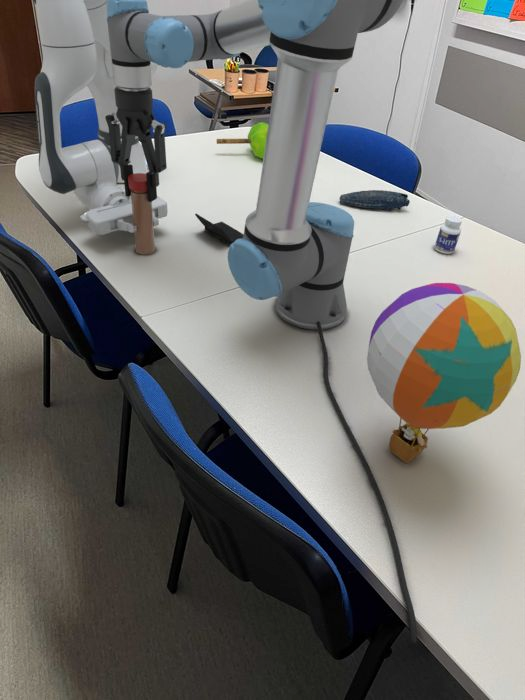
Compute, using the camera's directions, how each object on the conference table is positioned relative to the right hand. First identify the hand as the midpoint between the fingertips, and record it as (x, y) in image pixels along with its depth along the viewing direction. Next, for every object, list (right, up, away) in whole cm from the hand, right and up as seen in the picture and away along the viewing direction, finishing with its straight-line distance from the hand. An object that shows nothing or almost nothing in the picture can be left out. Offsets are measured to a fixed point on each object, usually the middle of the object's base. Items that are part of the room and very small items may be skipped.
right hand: (141, 197), depth 120 cm
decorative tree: (+26, +35, +69) cm, 82 cm away
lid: (0, +3, -3) cm, 4 cm away
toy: (+51, -52, -37) cm, 81 cm away
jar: (-1, -11, +9) cm, 14 cm away
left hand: (0, -6, +4) cm, 7 cm away
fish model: (+62, +9, +41) cm, 75 cm away
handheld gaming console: (+17, -6, +17) cm, 25 cm away
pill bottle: (+77, -8, +21) cm, 80 cm away
